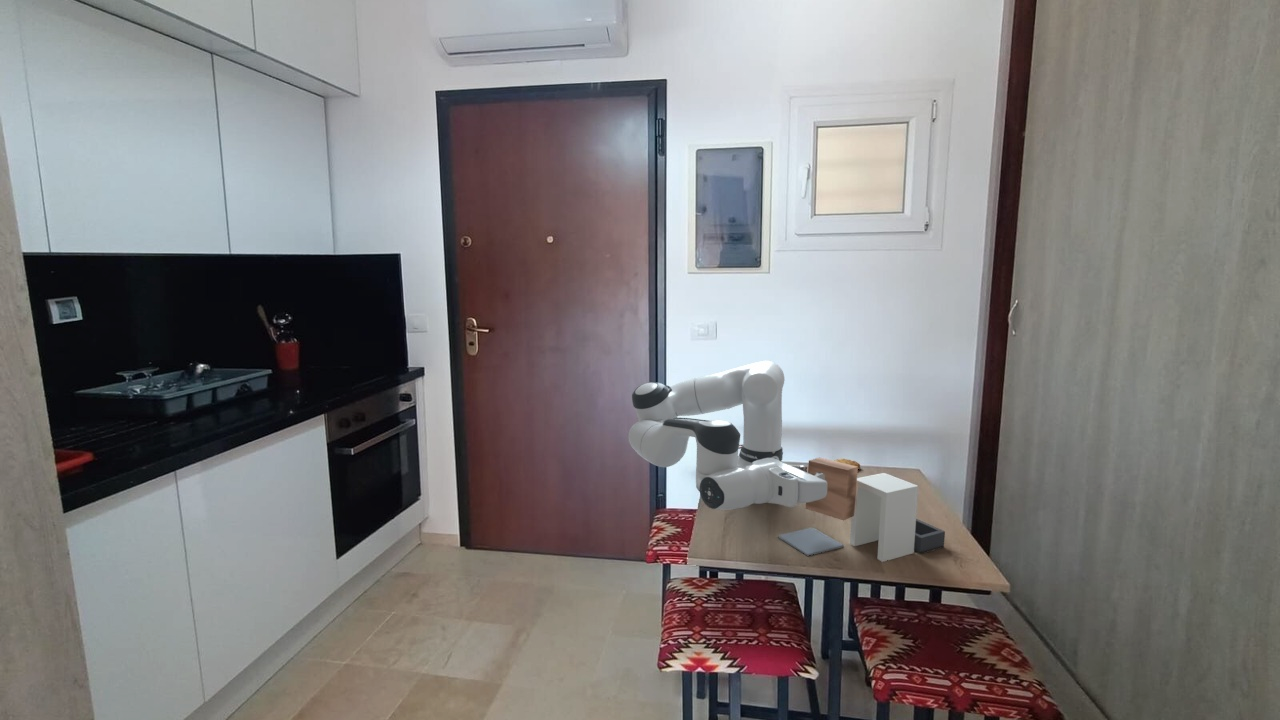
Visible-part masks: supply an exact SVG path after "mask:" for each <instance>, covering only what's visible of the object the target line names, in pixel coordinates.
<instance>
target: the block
mask: <svg viewBox="0 0 1280 720" xmlns="http://www.w3.org/2000/svg"><path fill="white" fill-rule="evenodd" d="M807 465H808V466H807V473H809V474H811V475H814V476H815V473H818V472H820V473H823V474H825V481H827V495H826V497H825V498H823V499H820V500H816V501H812V502H808V503H805V508H804V509H806V510H809V511H813V512H815V513H818V514H822V515H824V516H827V517H828V516H829V517H832V518H834V519H837V520H840V521H846V520H848V519H851V517H853V516H854V509H855V497H856V484H857V478H858V471H859V470H858V466H853V465H849V464H845V463H841V462H837V461H834V460H832V459H827V458H824V457H816V458H813V459H809V460H808V464H807Z"/></svg>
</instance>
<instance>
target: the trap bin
mask: <svg viewBox="0 0 1280 720" xmlns="http://www.w3.org/2000/svg"><path fill="white" fill-rule="evenodd" d="M945 537H946V531H945V530H942V529H940V528H939V527H936V526H933V525H931V524H929V523H926V522H924V521H922V520H920V519H918V518H916V527H915V542H914V553H915V552H916V553H918V555H919V554H920V555H921V554H925V553H929V552H932V551H936V550H939V549H942V548H944V547H945Z"/></svg>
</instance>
